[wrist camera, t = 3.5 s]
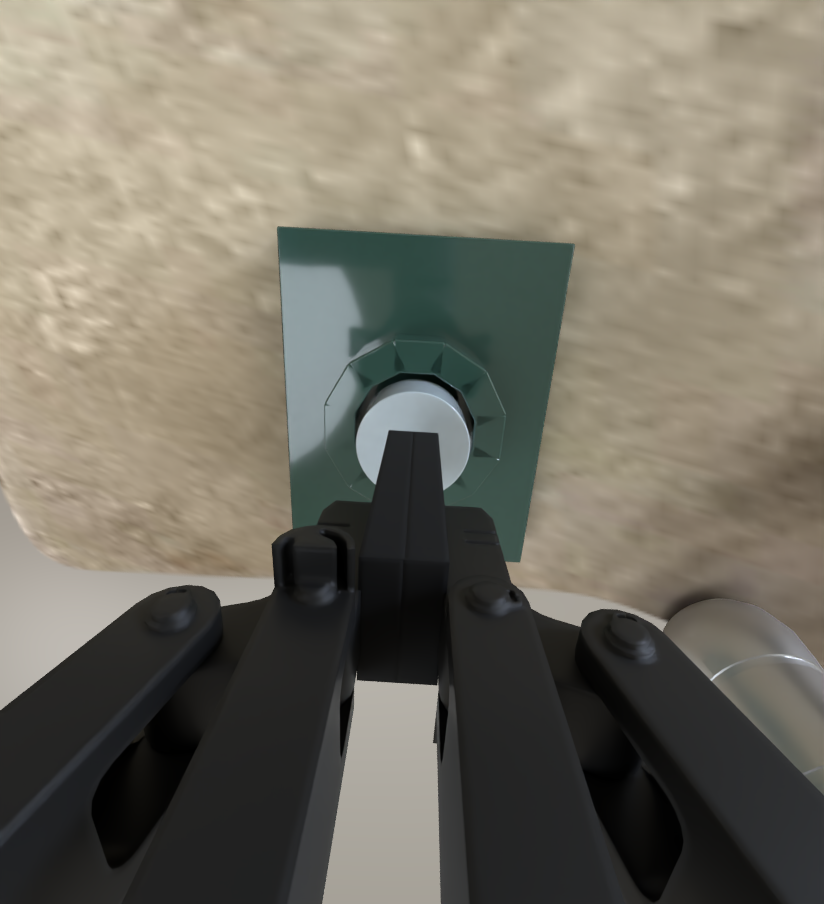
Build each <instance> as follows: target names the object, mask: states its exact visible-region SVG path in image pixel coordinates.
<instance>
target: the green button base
mask: <svg viewBox="0 0 824 904" xmlns="http://www.w3.org/2000/svg"><path fill="white" fill-rule="evenodd" d="M277 237H278V257H279V276H280V295H281V314H282V333H283V353H284V372H285V391H286V410H287V429H288V448H289V468H290V487H291V506H292V525H293V529H296V528H300V527H304V526H312V525H317V523H318V520H319V518H320V516H321V513H322V511H323V510H324V509H325V508H326V507H328V506H329V505H330V504H332V503H333V502H334V501H336V500H339V501H355V502H372V498H373V494H374V490H375V486H376V485H375V484H374V483H373V482H372V481H371V480H370V479H369V478H368V477H367V475H366V474H365V473H364V471H363V469H362V467H361V465H360V463H359V460H358V457H357V452H356V436H357V432H358V428H359V426H360V423H361V421H362V419H363V416H364V414H365V412H366V410H367V407H368V406H369V404H370V402H371V401H372V399H373V398H374V397H375V396H376V395H377V394H378V393H379V392H380V391H381V390H382V389H384V388H385V387H387V386H388V385H390V384H393V383H395V382H398V381H401V380H407V379H421V380H426V381H430V382H433V383H435V384H438V385H439V386H441V387H443V388H444V389H446V390H447V391H448V392H449V393H450V394H451V395H452V396H453V397H454V398H455V399H456V401H457V402H458V404H459V405H460V407H461V409H462V412H463V415H464V418H465V422H466V425H467V429H468V433H469V437H470V453H469V458H468V461H467V464H466V466H465V468H464V470H463V472H462V473H461V475H460V476H459V478H458V479H457V480H456V481H455V482H454V483H453V484H452V485H450V486H449V487H448V488H446V489H445V490H443V492H444V503H445V506H462V507H478V508H482V509H483V510H484V511H485V512H486V513H487V514H488V515H489V516H490V517H491V518H492V519H493V521H494V524H495V528H496V531H497V535H498V538H499V542H500V545H501V549H502V552H503V556H504V559H505V562H520V560H521V554H522V548H523V543H524V537H525V531H526V525H527V519H528V514H529V508H530V502H531V496H532V491H533V485H534V479H535V473H536V467H537V462H538V456H539V450H540V444H541V439H542V433H543V427H544V421H545V415H546V410H547V404H548V398H549V392H550V386H551V381H552V375H553V369H554V363H555V358H556V352H557V346H558V340H559V334H560V329H561V323H562V317H563V311H564V306H565V300H566V294H567V288H568V282H569V277H570V271H571V265H572V259H573V253H574V248H575V244H573V243H556V242H539V241H522V240H505V239H488V238H471V237H453V236H436V235H419V234H402V233H385V232H367V231H350V230H333V229H316V228H299V227H281V226H278V227H277Z"/></svg>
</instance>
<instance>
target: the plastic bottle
mask: <svg viewBox="0 0 824 904" xmlns="http://www.w3.org/2000/svg"><path fill="white" fill-rule="evenodd" d="M663 633H664V634H666V635H667V636H668V637H669V638H670V639H671V640H672V641H673V642H674V643H675V645H676V646H677V647H678V648H679V649H680V650H681V651H682V652H683V653H684V654H685V655H686V656H687V657H688V658H689V659H690V660H691V661H692V662H693V663H694V664H695V665H696V666H697V667H698V668H699V669H700V670H701V671H702V672H703V673H704V674H705V675H706V676H707V677H708V678H709V679H710V680H711V681H712V682H713V683H714V684H715V685H716V686H717V687H718V688H719V689H720V690H721V691H722V692H723V693H724V694H725V695H726V696H727V697H728V698H729V699H730V700H731V701H732V702H733V703H734V705H735V706H736V707H737V708H738V709H739V710H740V711H741V712H742V713H743V714H744V715H745V716H746V717H747V718H748V719H749V720H750V721H751V722H752V723H753V724H754V725H755V726H756V727H757V728H758V729H759V730H760V731H761V732H762V733H763V734H764V735H765V736H766V737H767V738H768V739H769V740H770V741H771V742H772V743H773V744H774V745H775V746H776V747H777V748H778V749H779V750H780V751H781V752H782V753H783V754H784V755H785V756H786V757H787V758H788V759H789V760H790V761H791V762H792V763H793V765H794V766H795V767H796V768H797V769H798V770H799V771H800V772H801V773H802V774H803V775H804V776H805V777H806V778H807V779H808V780H809V781H810V782H811V783H812V784H813V785H814V786H815V787H816V788H817V789H818V790H819V791H820V792H821V793H822V794H823V795H824V670H823V668H822V667H821V665H820V664H819V662H818V661H817V660H816V658H815V657H814V656H813V654H812V653H811V652H810V651H809V649H808V648H807V647H806V646H805V645H804V643H803V642H802V641H801V640H800V638H799V637H798V636H797V635H796V633H795V632H794V631H793V630H792V629H790V628H789V627H788V626H786V625H785V624H783V623H782V622H781V621H779V620H778V619H776V618H775V617H774V616H772V615H771V614H769V613H768V612H767V611H765V610H764V609H762V608H760V607H758V606H756V605H753V604H750V603H746V602H741V601H737V600H732V599H722V598H718V599H708V600H704V601H699V602H697V603H694V604H691V605H689V606H687V607H686V608H684V609H682V610H680V611H679V612H678V613H677V614H675V615H674V616H673V617H672V618H671V619H670V620H669V621H668V623H667V624H666V626H665V628H664V630H663Z"/></svg>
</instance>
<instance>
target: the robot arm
mask: <svg viewBox="0 0 824 904" xmlns="http://www.w3.org/2000/svg"><path fill="white" fill-rule="evenodd" d="M272 556H273V570H274V584H275V588H274V590H273V592H272V594H271V595H270V596H268V597H265V598H263V599H260V600H255V601H252V602H248V603H240V604H234V605H228V606H223V607H221V606H220V600H219V598H218V597H217V596H216V594H215V592H214V591H212V590H209V589H207V588H205V587H203V586H192V585H185V586H179V587H172V588H167V589H165V590H162V591H159V592H156V593H154V594H151V595H150V596H148V597H146V598H145V599H143V600H141V601H140V602H138V603H136V604H135V605H134V606H133V607H131V608H130V609H129V610H128V611H126V612H125V613H124V614H122V615H121V616H120V617H119V618H117V619H116V620H115V621H113V622H112V623H111V624H110V625H108V626H107V627H106V628H105V629H103V630H102V631H101V632H100V633H98V634H97V635H96V636H94V637H93V638H92V639H91V640H89V641H88V642H87V643H86V644H84V645H83V646H82V647H80V648H79V649H78V650H77V651H75V652H74V653H73V654H71V655H70V656H69V657H68V658H66V659H65V660H64V661H63V662H61V663H60V664H59V665H58V666H56V667H55V668H54V669H53V670H51V671H50V672H49V673H47V674H46V675H45V676H44V677H42V678H41V679H40V680H39V681H37V682H36V683H35V684H33V685H32V686H31V687H30V688H28V689H27V690H26V691H25V692H23V693H22V694H21V695H19V696H18V697H17V698H16V699H14V700H13V701H12V702H11V703H9V704H8V705H7V706H5V707H4V708H3V709H2V710H0V904H322V900H323V894H324V888H325V882H326V876H327V869H328V863H329V857H330V851H331V845H332V838H333V832H334V827H335V820H336V814H337V808H338V802H339V795H340V790H341V783H342V777H343V771H344V765H345V758H346V753H347V746H348V740H349V734H350V728H351V722H352V716H353V709H354V683H355V678H356V672H357V680H362V681H377V682H393V683H409V684H425V685H437V682H438V685H439V693H438V702H437V712H436V721H435V730H434V740H433V743H437V760H438V802H439V844H440V882H441V883H440V886H441V904H824V795H823V794H822V793H821V792H820V791H819V790H818V789H817V788H816V787H815V786H814V785H813V784H812V783H811V782H810V781H809V780H808V779H807V778H806V777H805V776H804V775H803V774H802V773H801V772H800V771H799V770H798V769H797V768H796V767H795V766H794V765H793V763H792V762H791V761H790V760H789V759H788V758H787V757H786V756H785V755H784V754H783V753H782V752H781V751H780V750H779V749H778V748H777V747H776V746H775V745H774V744H773V743H772V742H771V741H770V740H769V739H768V738H767V737H766V736H765V735H764V734H763V733H762V732H761V731H760V730H759V729H758V728H757V727H756V726H755V725H754V724H753V723H752V722H751V721H750V720H749V719H748V718H747V717H746V716H745V715H744V714H743V713H742V712H741V711H740V710H739V709H738V708H737V707H736V706H735V705H734V703H733V702H732V701H731V700H730V699H729V698H728V697H727V696H726V695H725V694H724V693H723V692H722V691H721V690H720V689H719V688H718V687H717V686H716V685H715V684H714V683H713V682H712V681H711V680H710V679H709V678H708V677H707V676H706V675H705V674H704V673H703V672H702V671H701V670H700V669H699V668H698V667H697V666H696V665H695V664H694V663H693V662H692V661H691V660H690V659H689V658H688V657H687V656H686V655H685V654H684V653H683V652H682V651H681V650H680V649H679V648H678V647H677V646H676V645H675V643H674V642H673V641H672V640H671V639H670V638H669V637H668V636H667V635H666V634H664V633H663V632H662V631H661V630H659V629H658V628H657V627H656V626H654V625H653V624H652V623H650V622H648V621H646V620H644V619H642V618H640V617H638V616H636V615H634V614H630V613H627V612H623V611H620V610H611V609H600V610H597V611H594V612H591V613H589V614H588V615H587V616H586V617H585V618H584V619H583V620H582V624H581V627H578V626H575V625H572V624H568V623H565V622H562V621H558V620H555V619H552V618H549V617H547V616H544V615H542V614H540V613H538V612H536V611H534V610H533V609H531V607H530V604H529V602H528V600H527V598H526V597H525V595H524V593H523V592H522V591H521V590H519V589H518V588H517V587H516V586H514V585H513V584H512V583H511V580H510V577H509V573H508V570H507V566H506V563H505V559H504V556H503V552H502V549H501V545H500V542H499V538H498V535H497V531H496V528H495V524H494V521H493V519H492V518H491V517H490V516H489V515H488V514H487V513H486V512H485V511H484V510H483V509H482V508H478V507H462V506H445V503H444V492H443V481H442V470H441V458H440V447H439V436H438V433H430V432H414V431H397V430H389V431H388V436H387V440H386V444H385V448H384V452H383V456H382V461H381V465H380V469H379V473H378V477H377V481H376V486H375V490H374V494H373V498H372V502H355V501H339V500H336V501H334V502H333V503H332V504H330V505H329V506H328V507H326V508H325V509H324V510H323V511H322V513H321V516H320V518H319V520H318V523H317V525H312V526H304V527H300V528H296V529H292V530H290V531H288V532H286V533H284V534H282V535H280V536H279V537H278V538H277V539H276V540H275V541H274V542H273V543H272Z"/></svg>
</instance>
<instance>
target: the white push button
mask: <svg viewBox="0 0 824 904" xmlns="http://www.w3.org/2000/svg"><path fill="white" fill-rule="evenodd" d="M389 430H397V431H414V432H430V433H438V436H439V447H440V458H441V470H442V481H443V490H445V489H446V488H448V487H449V486H450V485H452V484H453V483H454V482H455V481H456V480H457V479H458V478H459V476H460V475H461V473H462V472H463V470H464V468H465V466H466V464H467V461H468V458H469V453H470V437H469V433H468V429H467V425H466V422H465V418H464V415H463V412H462V409H461V407H460V405H459V404H458V402H457V401H456V399H455V398H454V397H453V396H452V395H451V394H450V393H449V392H448V391H447V390H446V389H444V388H443V387H441V386H439V385H438V384H435V383H433V382H430V381H426V380H421V379H407V380H401V381H398V382H395V383H393V384H390V385H388V386H387V387H385V388H384V389H382V390H381V391H380V392H379V393H378V394H377V395H376V396H375V397H374V398H373V399H372V401H371V402H370V404H369V406H368V407H367V410H366V412H365V414H364V416H363V419H362V421H361V423H360V426H359V428H358V432H357V436H356V452H357V457H358V460H359V463H360V465H361V467H362V469H363V471H364V473H365V474H366V475H367V477H368V478H369V479H370V480H371V481H372V482H373V483H374V484H375V485H376V481H377V477H378V473H379V469H380V465H381V461H382V456H383V452H384V448H385V444H386V440H387V436H388V431H389Z"/></svg>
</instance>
